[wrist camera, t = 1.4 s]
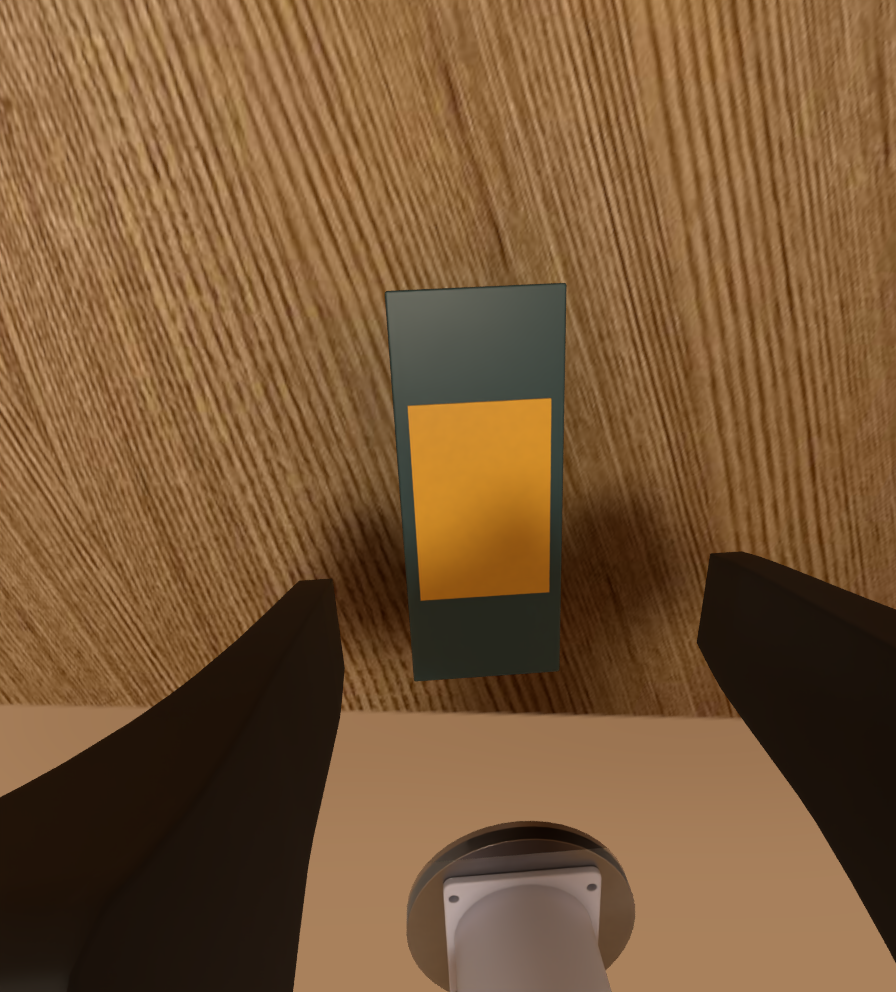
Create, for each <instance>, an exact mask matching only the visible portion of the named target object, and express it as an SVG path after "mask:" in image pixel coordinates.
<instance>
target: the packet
mask: <svg viewBox="0 0 896 992" xmlns="http://www.w3.org/2000/svg"><path fill="white" fill-rule="evenodd" d="M385 303H386V316H387V330H388V343H389V356H390V369H391V383H392V396H393V409H394V422H395V435H396V449H397V462H398V475H399V488H400V501H401V515H402V528H403V541H404V554H405V568H406V581H407V594H408V607H409V620H410V634H411V647H412V660H413V673H414V681H428V680H442V679H456V678H470V677H484V676H498V675H512V674H526V673H540V672H554V671H559V662H560V607H561V552H562V497H563V443H564V388H565V333H566V283H551V284H529V285H508V286H486V287H464V288H442V289H421V290H399V291H386V292H385Z"/></svg>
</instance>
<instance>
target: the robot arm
mask: <svg viewBox="0 0 896 992" xmlns="http://www.w3.org/2000/svg"><path fill="white" fill-rule="evenodd" d="M697 644H698V646H699V648H700V650H701V652H702V654H703V656H704V658H705V660H706V662H707V664H708V666H709V668H710V670H711V671H712V673H713V675H714V677H715V679H716V680H717V682H718V684H719V686H720V688H721V689H722V691H723V692H724V694H725V695H726V696H727V698H728V699H729V701H730V702H731V704H732V705H733V706H734V708H735V709H736V711H737V712H738V713H739V715H740V716H741V718H742V719H743V720H744V722H745V723H746V725H747V726H748V727H749V729H750V730H751V731H752V733H753V734H754V736H755V737H756V738H757V740H758V741H759V742H760V744H761V745H762V747H763V748H764V749H765V751H766V752H767V753H768V755H769V756H770V758H771V759H772V760H773V762H774V763H775V764H776V766H777V767H778V768H779V770H780V771H781V773H782V774H783V775H784V777H785V778H786V779H787V781H788V782H789V784H790V785H791V786H792V788H793V789H794V791H795V792H796V793H797V795H798V796H799V798H800V799H801V801H802V802H803V804H804V805H805V807H806V808H807V810H808V811H809V813H810V814H811V816H812V817H813V819H814V820H815V822H816V823H817V825H818V826H819V828H820V830H821V831H822V833H823V835H824V837H825V838H826V840H827V842H828V843H829V845H830V847H831V848H832V850H833V852H834V853H835V855H836V857H837V859H838V860H839V862H840V864H841V865H842V867H843V869H844V870H845V872H846V874H847V876H848V877H849V879H850V880H851V882H852V884H853V886H854V888H855V889H856V891H857V893H858V895H859V897H860V899H861V900H862V902H863V904H864V906H865V908H866V909H867V911H868V913H869V915H870V917H871V918H872V920H873V922H874V924H875V926H876V927H877V929H878V931H879V933H880V934H881V936H882V938H883V940H884V942H885V944H886V945H887V947H888V949H889V951H890V953H891V955H892V956H893V959H894V960H895V962H896V609H893V608H890V607H888V606H885V605H882V604H880V603H877V602H875V601H872V600H869V599H867V598H864V597H862V596H859V595H857V594H854V593H851V592H849V591H846V590H844V589H841V588H839V587H836V586H834V585H831V584H829V583H826V582H824V581H822V580H819V579H817V578H814V577H812V576H809V575H807V574H804V573H802V572H799V571H797V570H794V569H792V568H789V567H786V566H784V565H781V564H778V563H776V562H773V561H770V560H768V559H765V558H762V557H759V556H756V555H753V554H749V553H745V552H727V553H711V554H710V559H709V566H708V572H707V579H706V585H705V592H704V598H703V605H702V612H701V618H700V625H699V631H698V638H697ZM344 669H345V667H344V660H343V653H342V645H341V638H340V631H339V623H338V616H337V609H336V601H335V594H334V587H333V579H319V580H304V581H299V582H298V583H297V584H295V585H294V586H293V587H292V588H291V589H290V590H289V591H288V592H287V593H286V594H285V595H284V596H283V597H282V598H281V599H280V600H279V601H278V602H277V603H276V604H275V605H274V606H273V607H272V608H271V609H269V610H268V611H267V612H266V613H265V614H264V615H263V616H262V617H261V618H260V619H259V620H258V621H257V622H256V623H255V624H254V625H253V626H252V627H250V628H249V629H248V630H247V631H246V632H245V633H244V634H243V635H242V636H241V637H240V638H239V639H238V640H236V641H235V642H234V643H233V644H232V645H231V646H229V647H228V648H227V649H226V650H225V651H224V652H222V653H221V654H220V655H219V656H218V657H216V658H215V659H214V660H213V661H212V662H211V663H209V664H208V665H207V666H206V667H205V668H203V669H202V670H201V671H200V672H199V673H198V674H196V675H195V676H194V677H193V678H191V679H190V680H189V681H187V682H186V683H185V684H184V685H182V686H181V687H180V688H178V689H177V690H176V691H174V692H173V693H172V694H170V695H169V696H167V697H166V698H165V699H163V700H162V701H160V702H159V703H157V704H156V705H155V706H153V707H152V708H150V709H149V710H148V711H146V712H145V713H143V714H142V715H140V716H139V717H137V718H136V719H134V720H133V721H131V722H130V723H129V724H127V725H125V726H124V727H122V728H120V729H119V730H117V731H115V732H114V733H112V734H110V735H109V736H107V737H106V738H104V739H102V740H101V741H99V742H97V743H96V744H94V745H92V746H91V747H89V748H88V749H86V750H84V751H83V752H81V753H79V754H78V755H76V756H75V757H73V758H71V759H70V760H68V761H66V762H65V763H63V764H61V765H59V766H58V767H56V768H54V769H52V770H51V771H49V772H47V773H45V774H43V775H41V776H39V777H38V778H36V779H34V780H32V781H30V782H29V783H27V784H25V785H23V786H21V787H19V788H17V789H15V790H13V791H12V792H10V793H8V794H6V795H4V796H2V797H0V992H293V987H294V978H295V970H296V961H297V952H298V944H299V935H300V934H299V933H300V927H301V919H302V911H303V903H304V896H305V887H306V879H307V871H308V864H309V859H310V853H311V848H312V843H313V837H314V832H315V828H316V824H317V819H318V814H319V810H320V806H321V801H322V797H323V792H324V788H325V783H326V779H327V774H328V770H329V765H330V761H331V757H332V752H333V747H334V743H335V738H336V734H337V729H338V724H339V719H340V713H341V703H342V693H343V681H344ZM601 879H602V878H601V874H600V871H599V869H598V868H596V867H594V866H585V867H573V868H561V869H549V870H537V871H525V872H513V873H501V874H489V875H477V876H465V877H453V878H449V879H447V880H446V881H445V882H444V884H443V895H444V910H445V925H446V940H447V956H448V971H449V986H450V992H611V989H610V985H609V982H608V978H607V974H606V971H605V967H604V964H603V961H602V957H601V954H600V950H599V947H598V936H599V917H600V898H601Z"/></svg>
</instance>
